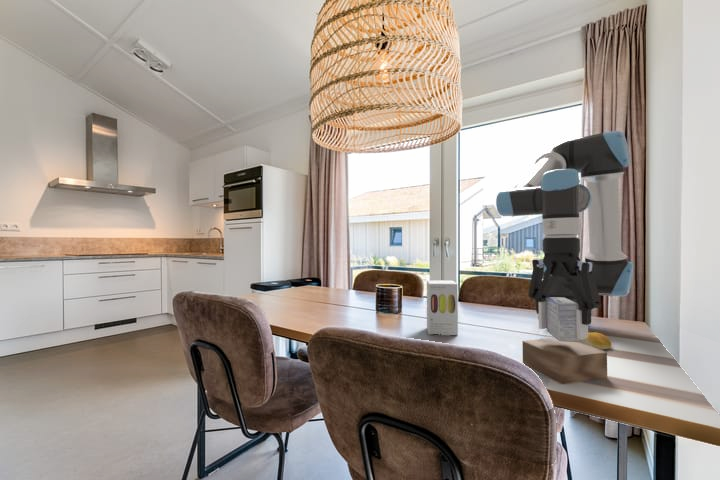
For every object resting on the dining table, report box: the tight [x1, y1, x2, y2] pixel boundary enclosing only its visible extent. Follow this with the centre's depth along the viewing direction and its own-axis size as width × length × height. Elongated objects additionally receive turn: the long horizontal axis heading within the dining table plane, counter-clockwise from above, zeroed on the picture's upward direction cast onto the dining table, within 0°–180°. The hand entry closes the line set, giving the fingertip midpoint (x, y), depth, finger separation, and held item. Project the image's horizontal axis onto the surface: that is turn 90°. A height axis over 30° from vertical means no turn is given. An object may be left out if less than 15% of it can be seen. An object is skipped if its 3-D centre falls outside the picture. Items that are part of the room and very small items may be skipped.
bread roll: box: [578, 331, 612, 351], centre depth 96 cm, size 8×9×4 cm
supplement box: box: [426, 279, 459, 336], centre depth 113 cm, size 10×9×17 cm
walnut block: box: [521, 337, 608, 385], centre depth 79 cm, size 12×12×6 cm
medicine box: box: [546, 297, 580, 342], centre depth 79 cm, size 8×4×9 cm, turn 168°
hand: (562, 332), depth 79 cm, fingers closed on medicine box, 9 cm apart
